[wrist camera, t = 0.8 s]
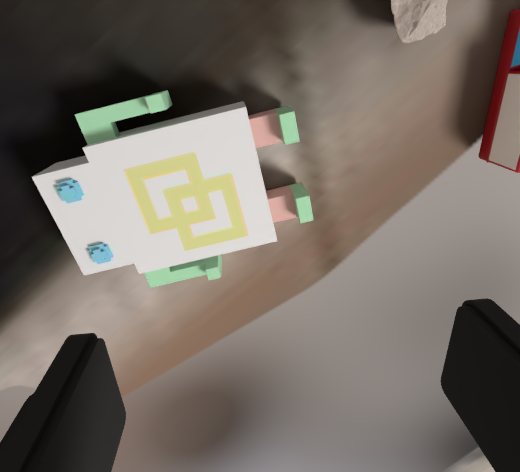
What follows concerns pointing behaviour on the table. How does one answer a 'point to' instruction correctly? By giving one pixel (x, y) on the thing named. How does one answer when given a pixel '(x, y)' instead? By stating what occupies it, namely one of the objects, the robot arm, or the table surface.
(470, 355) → the robot arm
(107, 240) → the decorative block
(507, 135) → the toy truck
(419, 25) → the concrete fragment
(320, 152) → the table surface
